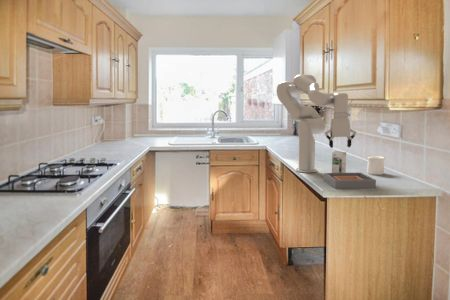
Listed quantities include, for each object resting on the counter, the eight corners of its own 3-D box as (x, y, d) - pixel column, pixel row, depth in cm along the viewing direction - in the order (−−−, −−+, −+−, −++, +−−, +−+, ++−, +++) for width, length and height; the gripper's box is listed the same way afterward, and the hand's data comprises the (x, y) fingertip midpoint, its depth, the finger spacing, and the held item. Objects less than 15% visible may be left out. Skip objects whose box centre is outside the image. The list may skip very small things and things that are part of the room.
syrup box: (331, 177, 227) (331, 151, 225) (336, 176, 231) (337, 150, 229) (340, 179, 223) (341, 152, 221) (345, 177, 227) (346, 151, 225)
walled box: (324, 180, 220) (324, 172, 219) (360, 179, 220) (361, 172, 220) (335, 188, 200) (335, 180, 199) (375, 187, 201) (375, 179, 200)
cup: (370, 175, 234) (370, 158, 232) (363, 172, 244) (364, 155, 242) (386, 175, 234) (387, 158, 233) (379, 171, 244) (380, 155, 243)
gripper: (353, 115, 227) (353, 146, 228) (322, 116, 226) (322, 147, 228) (358, 115, 219) (358, 147, 221) (326, 116, 219) (326, 148, 220)
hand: (340, 147), depth 224 cm, fingers open, 9 cm apart
